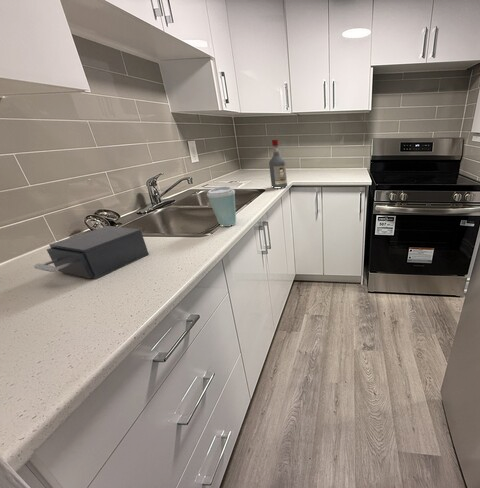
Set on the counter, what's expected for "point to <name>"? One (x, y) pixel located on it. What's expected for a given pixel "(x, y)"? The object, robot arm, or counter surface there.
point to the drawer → (67, 263)
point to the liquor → (277, 168)
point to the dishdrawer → (107, 248)
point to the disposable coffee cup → (223, 204)
